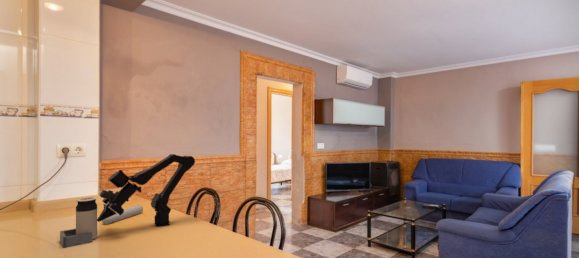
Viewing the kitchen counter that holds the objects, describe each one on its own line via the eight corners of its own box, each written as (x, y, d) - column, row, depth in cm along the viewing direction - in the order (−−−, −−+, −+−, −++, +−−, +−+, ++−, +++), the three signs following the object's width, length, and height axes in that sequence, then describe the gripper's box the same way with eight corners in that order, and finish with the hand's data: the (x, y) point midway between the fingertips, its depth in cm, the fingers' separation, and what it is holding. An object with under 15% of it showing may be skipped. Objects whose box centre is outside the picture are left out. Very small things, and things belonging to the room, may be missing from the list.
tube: (108, 218, 157) (144, 206, 181) (100, 214, 158) (137, 203, 182) (106, 227, 157) (141, 214, 181) (98, 223, 159) (134, 211, 183)
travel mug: (101, 237, 138) (101, 197, 139) (83, 243, 131) (83, 201, 131) (89, 235, 141) (89, 196, 142) (71, 240, 134) (71, 199, 134)
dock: (87, 235, 142) (87, 226, 142) (92, 242, 132) (92, 232, 132) (59, 240, 135) (59, 231, 135) (62, 248, 125) (62, 238, 126)
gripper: (107, 181, 150) (80, 206, 143) (116, 185, 136) (86, 214, 129) (124, 195, 155) (99, 220, 147) (135, 201, 141) (107, 229, 133)
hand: (97, 221), depth 139 cm, fingers closed, pressing on travel mug
